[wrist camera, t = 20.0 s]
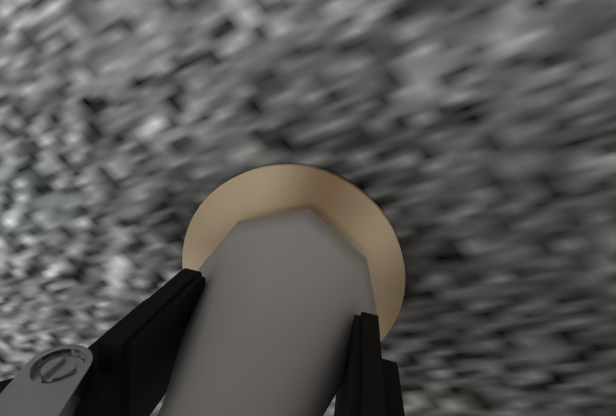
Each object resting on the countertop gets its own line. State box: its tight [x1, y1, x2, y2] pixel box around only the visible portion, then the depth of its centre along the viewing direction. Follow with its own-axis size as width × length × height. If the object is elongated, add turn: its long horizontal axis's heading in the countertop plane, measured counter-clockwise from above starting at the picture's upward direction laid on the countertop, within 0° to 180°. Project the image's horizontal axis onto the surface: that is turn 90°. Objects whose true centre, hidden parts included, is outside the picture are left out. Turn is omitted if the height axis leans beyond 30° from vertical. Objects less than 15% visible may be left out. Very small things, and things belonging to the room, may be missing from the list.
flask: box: [157, 208, 377, 416], centre depth 9 cm, size 7×7×10 cm
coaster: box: [182, 164, 406, 342], centre depth 15 cm, size 10×10×1 cm
